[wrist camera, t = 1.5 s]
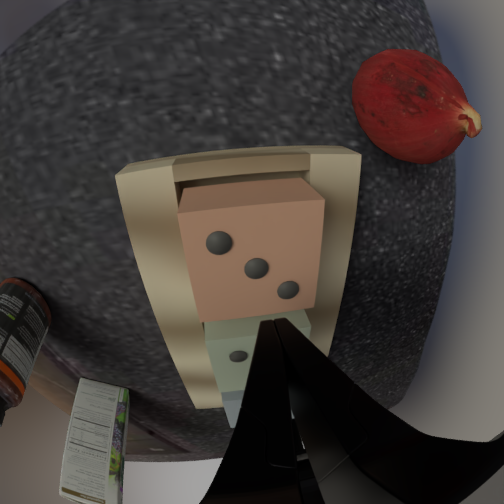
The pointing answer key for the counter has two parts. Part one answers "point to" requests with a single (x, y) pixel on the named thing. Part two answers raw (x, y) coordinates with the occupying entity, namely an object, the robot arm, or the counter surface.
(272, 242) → the tile three pip
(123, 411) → the syrup box
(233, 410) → the single dot cube
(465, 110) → the onion
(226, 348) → the tile two pip
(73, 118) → the counter surface
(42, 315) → the supplement bottle
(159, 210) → the tile tray
